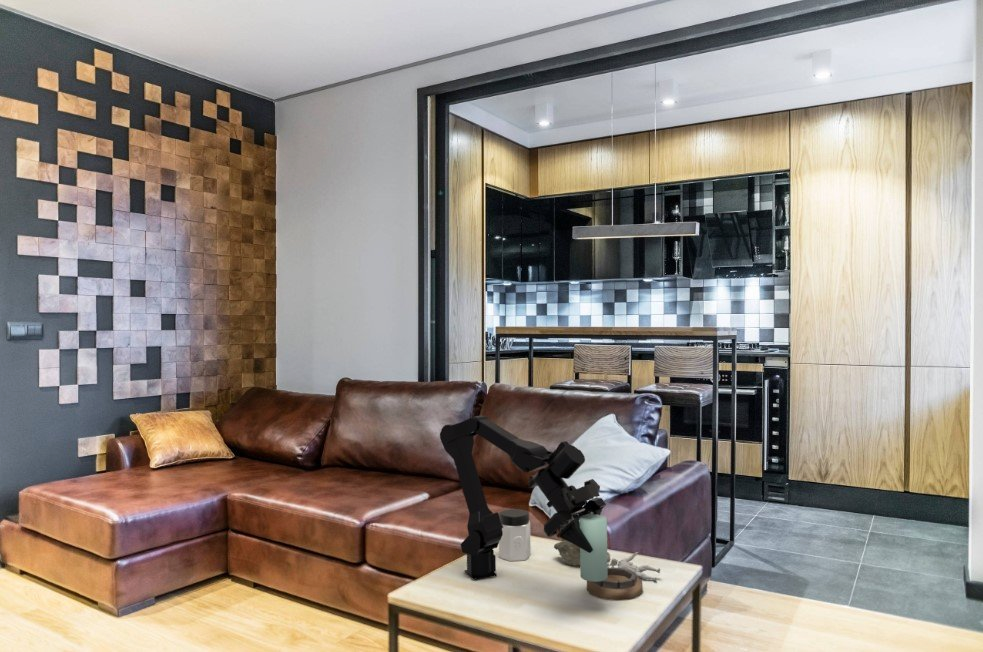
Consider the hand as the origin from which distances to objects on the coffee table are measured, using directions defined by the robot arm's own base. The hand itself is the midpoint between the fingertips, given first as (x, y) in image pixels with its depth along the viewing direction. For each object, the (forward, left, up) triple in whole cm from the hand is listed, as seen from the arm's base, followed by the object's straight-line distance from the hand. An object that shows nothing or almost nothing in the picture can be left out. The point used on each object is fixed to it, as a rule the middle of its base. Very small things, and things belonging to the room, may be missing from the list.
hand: (598, 548), depth 147 cm
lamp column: (-1, +1, -7) cm, 7 cm away
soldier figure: (+19, +13, -14) cm, 27 cm away
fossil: (+12, +28, -14) cm, 33 cm away
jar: (-2, +40, -14) cm, 43 cm away
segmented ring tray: (+9, +8, -13) cm, 18 cm away
